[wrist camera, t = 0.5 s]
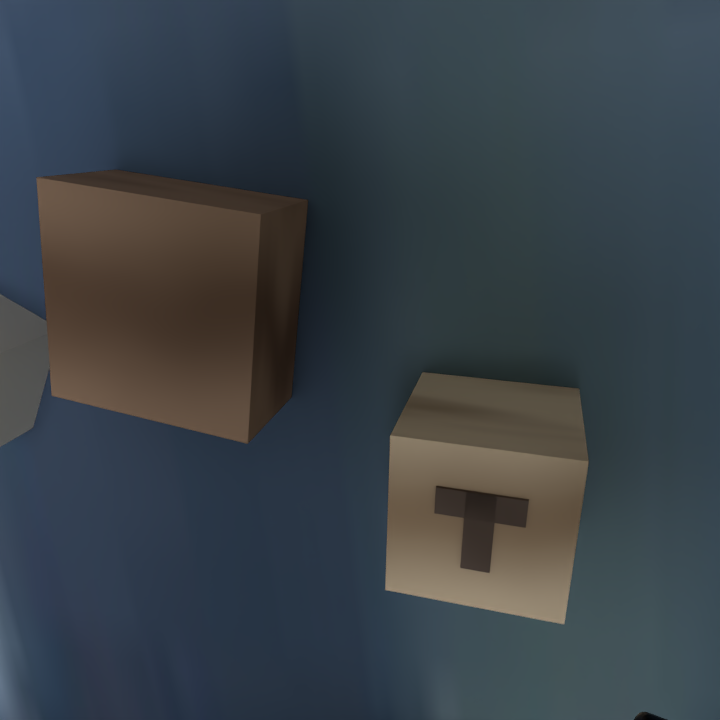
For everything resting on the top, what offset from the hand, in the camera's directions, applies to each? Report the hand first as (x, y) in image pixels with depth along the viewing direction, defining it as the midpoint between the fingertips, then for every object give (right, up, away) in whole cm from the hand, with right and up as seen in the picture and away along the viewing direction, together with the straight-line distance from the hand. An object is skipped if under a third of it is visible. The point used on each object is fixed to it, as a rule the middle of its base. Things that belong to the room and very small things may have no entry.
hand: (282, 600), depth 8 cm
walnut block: (-4, +6, +14) cm, 16 cm away
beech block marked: (+5, 0, +13) cm, 14 cm away
